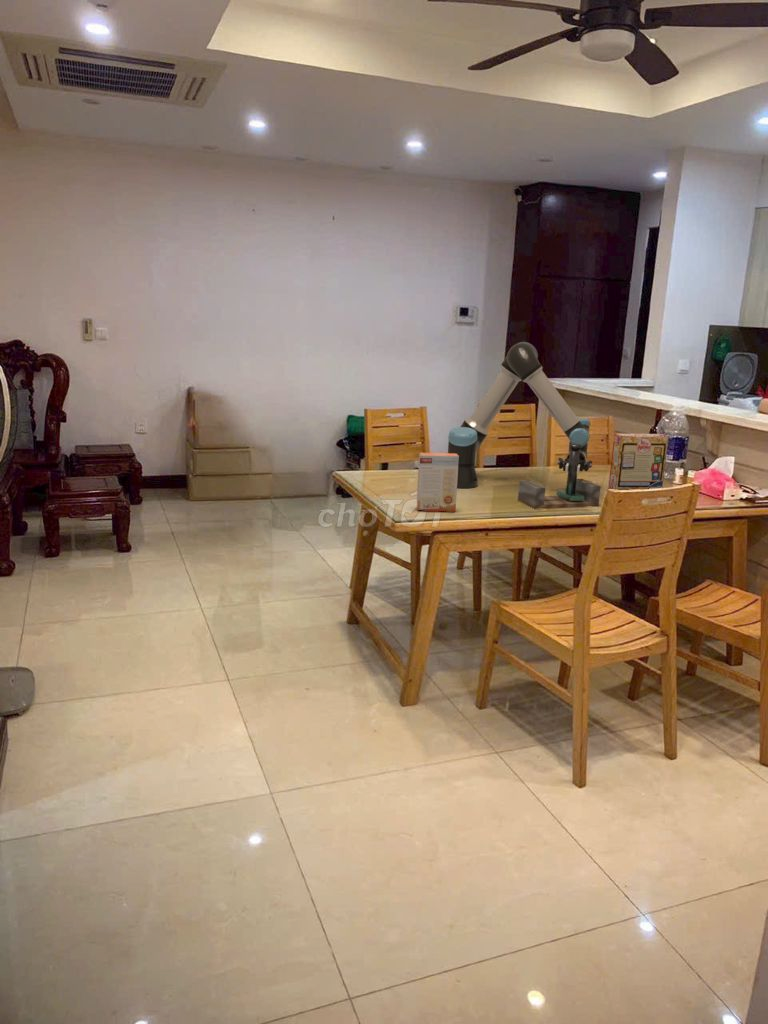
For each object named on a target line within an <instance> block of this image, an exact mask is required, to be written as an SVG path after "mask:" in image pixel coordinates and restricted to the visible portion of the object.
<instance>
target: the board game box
mask: <svg viewBox="0 0 768 1024" xmlns="http://www.w3.org/2000/svg"><path fill="white" fill-rule="evenodd" d="M669 438H670V436H669V435H667V434H664V433H614V435H613V444H612V451H611V460H610V461H611V462H610V470H609V471H610V472H609V480H608V486H607V487H608V489H618V490H629V489H649V488H661V487H662V488H663V484H664V478H665V471H666V470H665V469H666V461H667V454H668V445H669ZM608 489H607V490H608Z"/></svg>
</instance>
